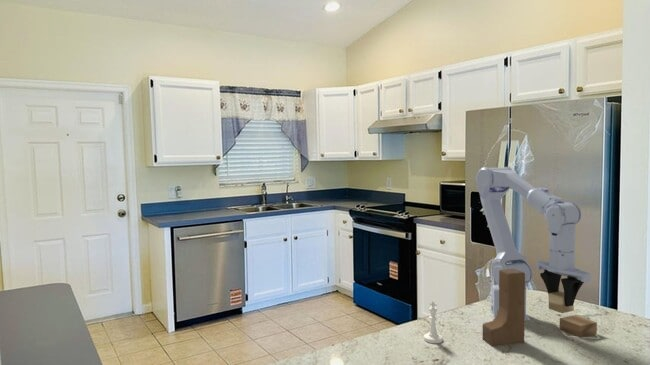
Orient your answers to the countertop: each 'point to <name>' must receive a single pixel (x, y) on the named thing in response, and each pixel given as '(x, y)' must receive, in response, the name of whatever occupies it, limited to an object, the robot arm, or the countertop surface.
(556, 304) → the maple cube
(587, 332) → the walnut slab
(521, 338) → the wooden block
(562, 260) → the robot arm
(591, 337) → the slate mat
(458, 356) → the countertop surface
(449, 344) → the countertop surface
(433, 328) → the chess piece
